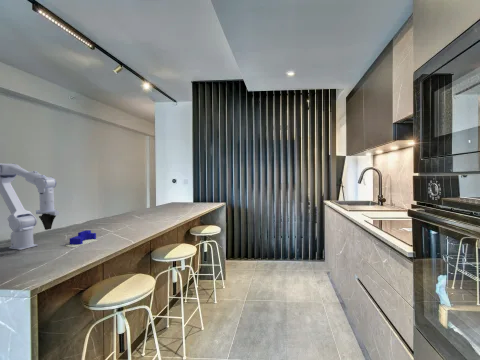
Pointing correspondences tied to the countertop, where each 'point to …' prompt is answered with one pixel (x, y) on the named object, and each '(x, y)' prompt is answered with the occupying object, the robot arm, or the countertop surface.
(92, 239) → the mat
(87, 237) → the cable clip
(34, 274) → the countertop surface
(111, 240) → the countertop surface
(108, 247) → the countertop surface
